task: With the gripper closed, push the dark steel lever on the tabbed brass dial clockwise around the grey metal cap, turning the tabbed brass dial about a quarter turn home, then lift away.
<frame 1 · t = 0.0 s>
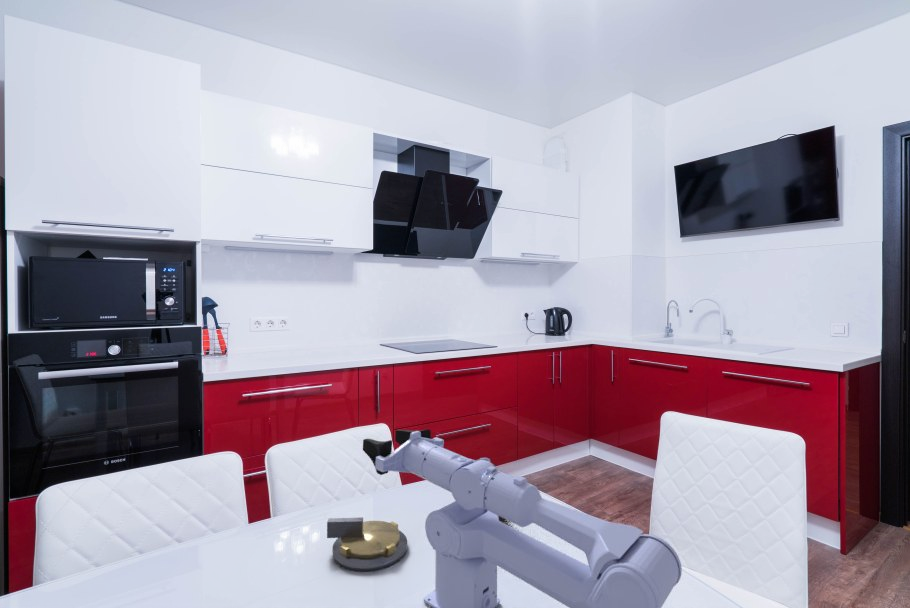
hand: (381, 439, 84), 22 cm above the table, tool horizontal, fingers open, 7 cm apart
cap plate: (370, 549, 86), on the table
tabbed brass dial: (370, 530, 86), point 4 cm above the table, hinge at 0.0°
bolt: (497, 533, 93), on the table
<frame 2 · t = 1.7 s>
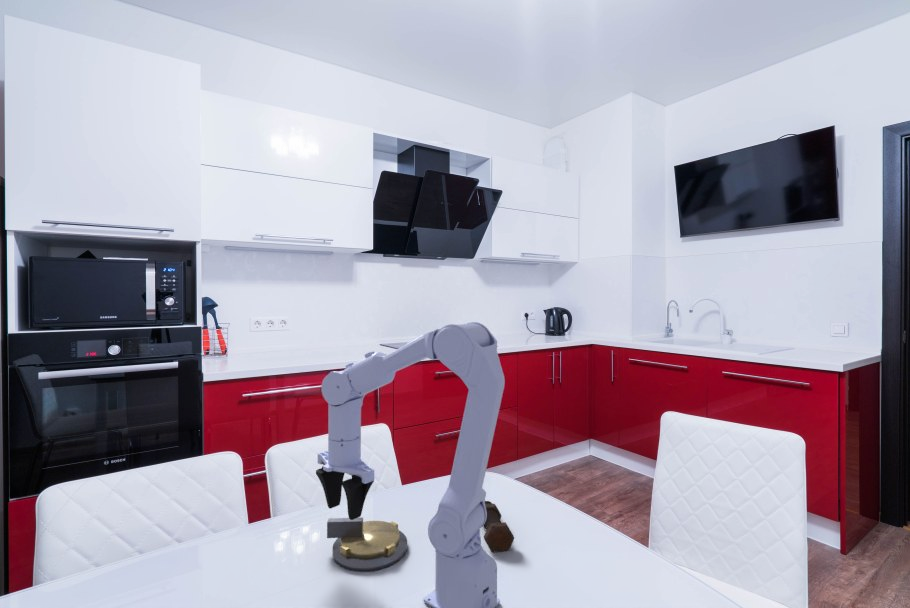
hand: (344, 511, 81), 9 cm above the table, tool pointing down, fingers open, 6 cm apart
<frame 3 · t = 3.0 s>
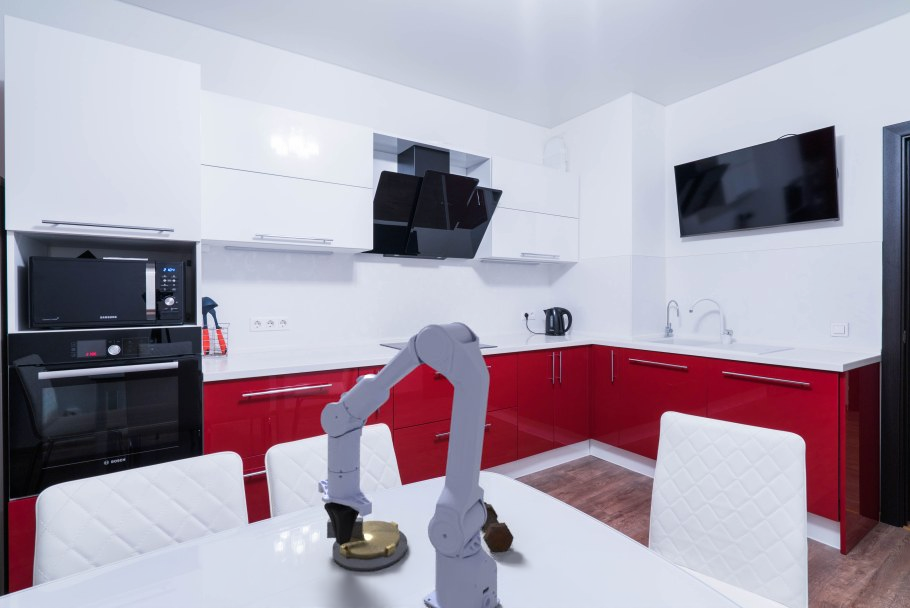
hand: (343, 541, 81), 4 cm above the table, tool pointing down, fingers closed
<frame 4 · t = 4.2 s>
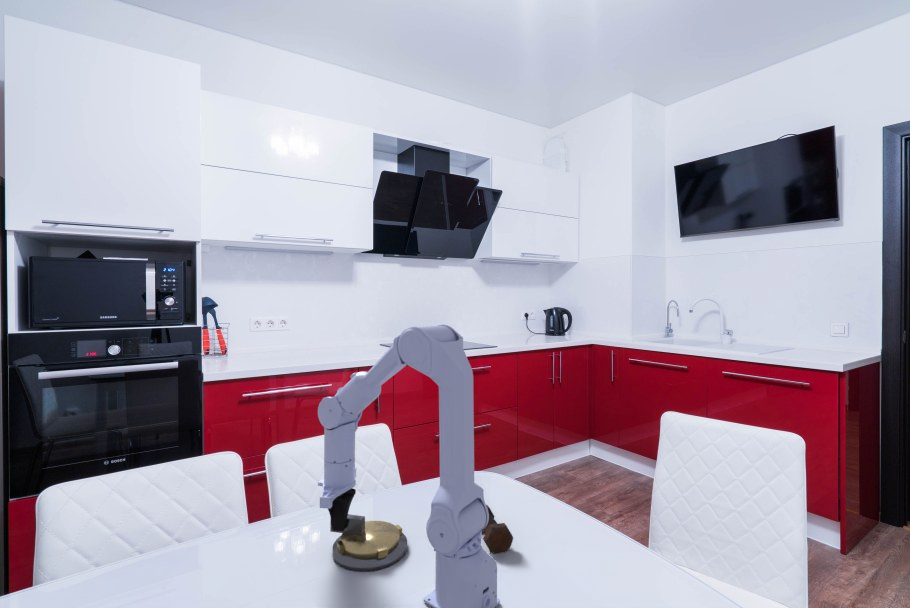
hand: (339, 529, 86), 4 cm above the table, tool pointing down, fingers closed, pressing on tabbed brass dial
tabbed brass dial: (370, 530, 86), point 4 cm above the table, hinge at -17.4°, touching gripper
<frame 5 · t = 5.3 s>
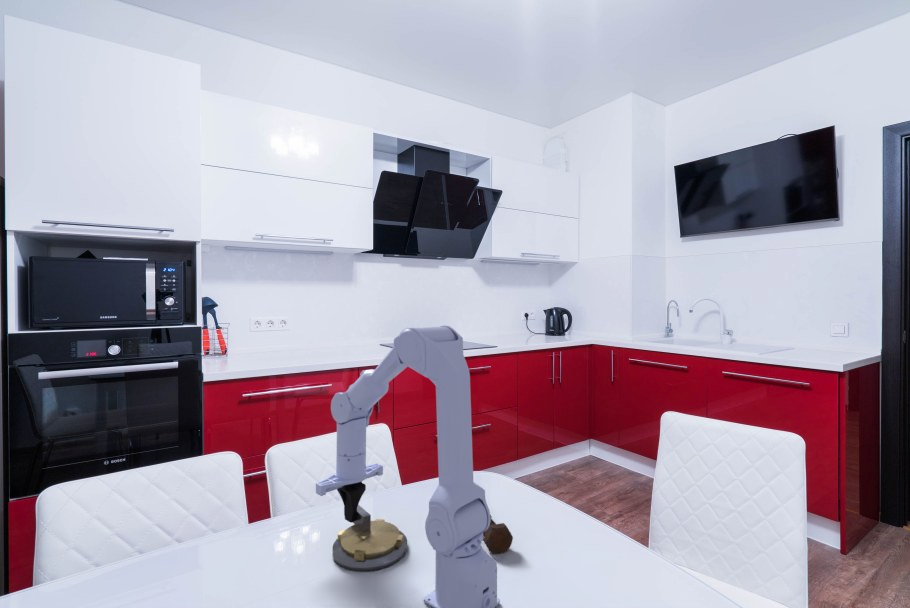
hand: (350, 520, 89), 4 cm above the table, tool pointing down, fingers closed, pressing on tabbed brass dial
tabbed brass dial: (370, 530, 86), point 4 cm above the table, hinge at -57.1°, touching gripper
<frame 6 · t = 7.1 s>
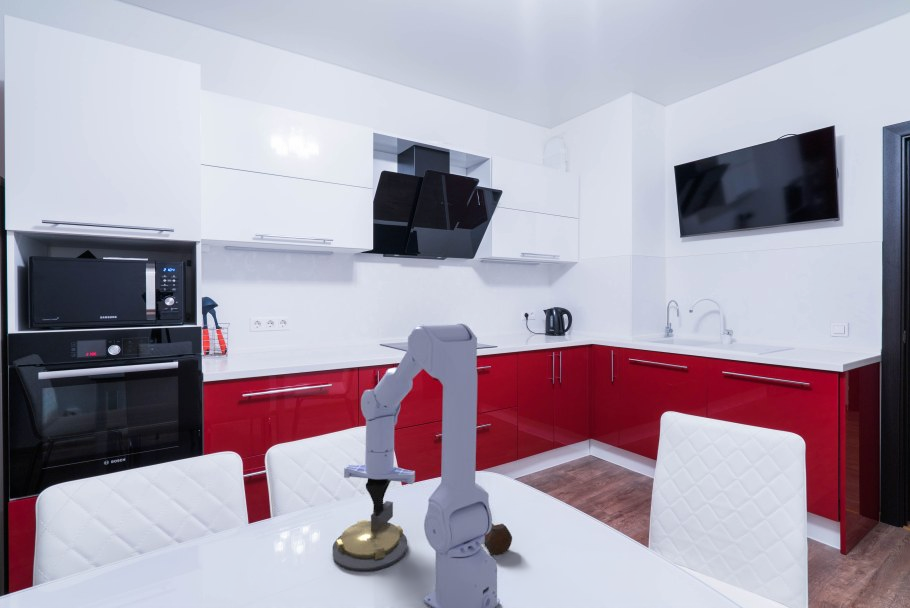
hand: (378, 514, 92), 4 cm above the table, tool pointing down, fingers closed, pressing on tabbed brass dial
tabbed brass dial: (370, 530, 86), point 4 cm above the table, hinge at -112.5°, touching gripper
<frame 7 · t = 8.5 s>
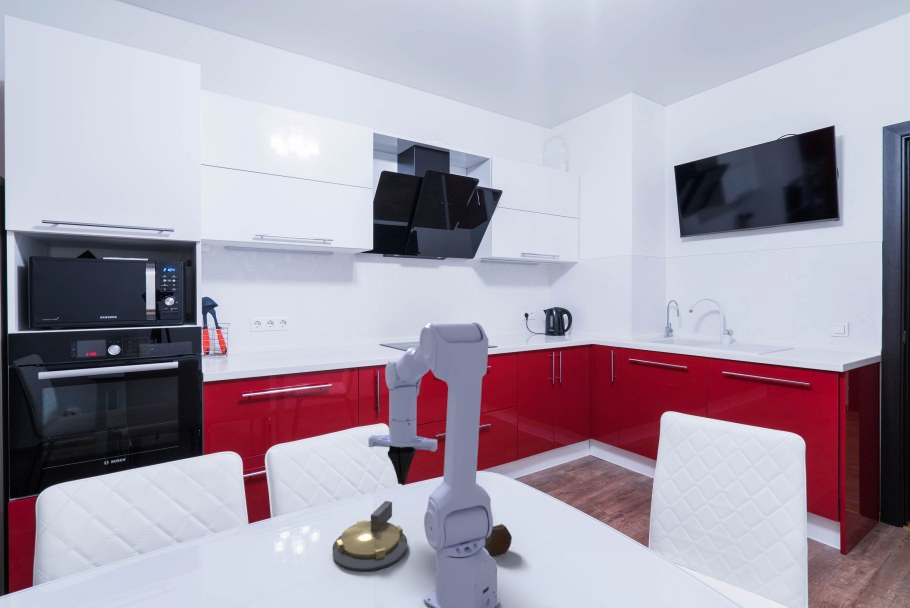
hand: (402, 482, 94), 9 cm above the table, tool pointing down, fingers closed
tabbed brass dial: (370, 530, 86), point 4 cm above the table, hinge at -111.1°
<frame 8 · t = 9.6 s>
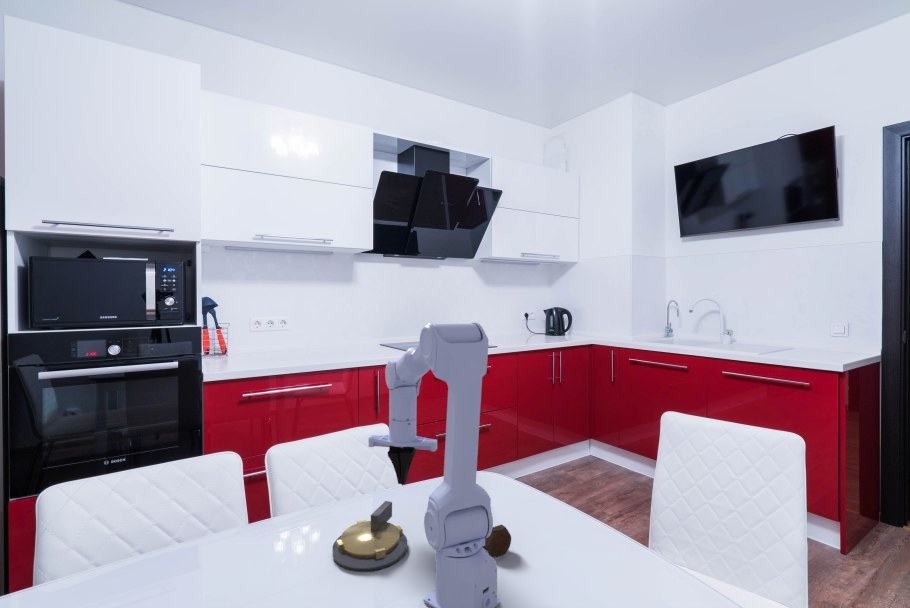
hand: (402, 482, 94), 9 cm above the table, tool pointing down, fingers closed
at the end: tabbed brass dial at -111° (first picture: +0°); the gripper is holding nothing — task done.
